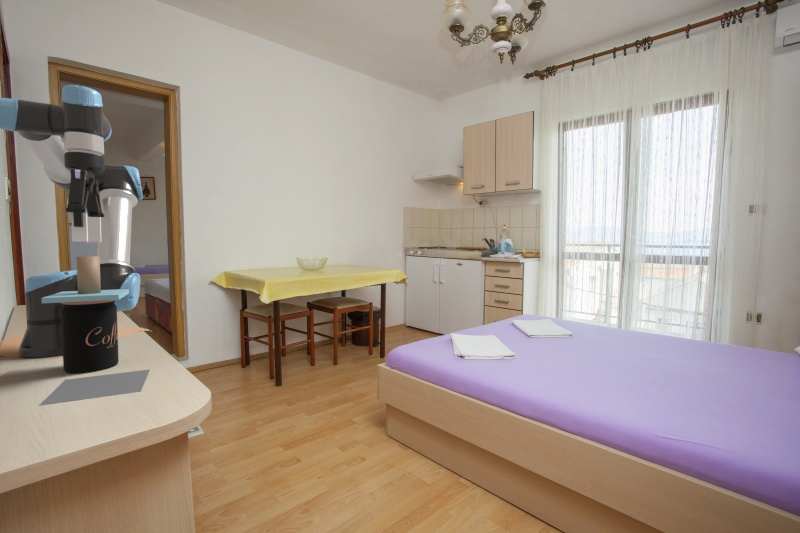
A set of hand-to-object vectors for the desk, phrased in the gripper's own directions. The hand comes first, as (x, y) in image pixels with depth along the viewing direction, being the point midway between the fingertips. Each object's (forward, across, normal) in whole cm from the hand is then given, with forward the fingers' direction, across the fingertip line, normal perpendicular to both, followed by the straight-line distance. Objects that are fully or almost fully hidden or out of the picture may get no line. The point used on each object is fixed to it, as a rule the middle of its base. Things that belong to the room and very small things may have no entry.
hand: (87, 242), depth 95 cm
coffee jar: (+32, +1, 0) cm, 32 cm away
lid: (+14, 0, 0) cm, 14 cm away
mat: (+32, +18, +5) cm, 37 cm away
